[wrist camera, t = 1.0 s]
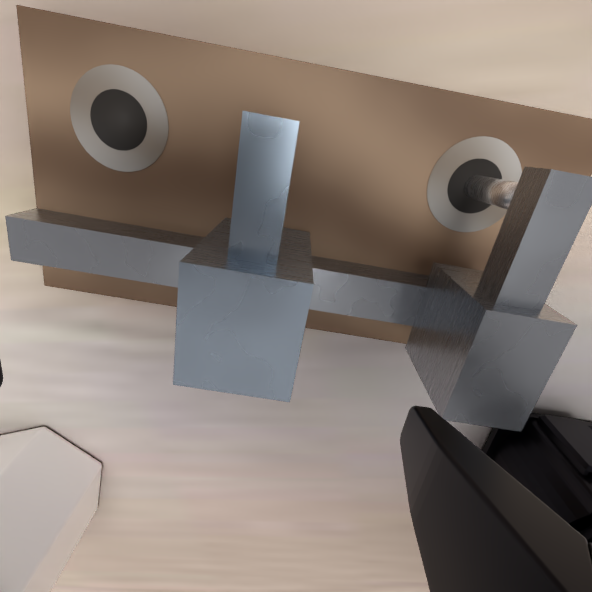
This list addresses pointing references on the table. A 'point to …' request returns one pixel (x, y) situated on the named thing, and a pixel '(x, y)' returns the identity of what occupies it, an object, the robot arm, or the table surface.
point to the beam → (397, 290)
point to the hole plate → (308, 156)
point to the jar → (42, 506)
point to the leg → (248, 278)
